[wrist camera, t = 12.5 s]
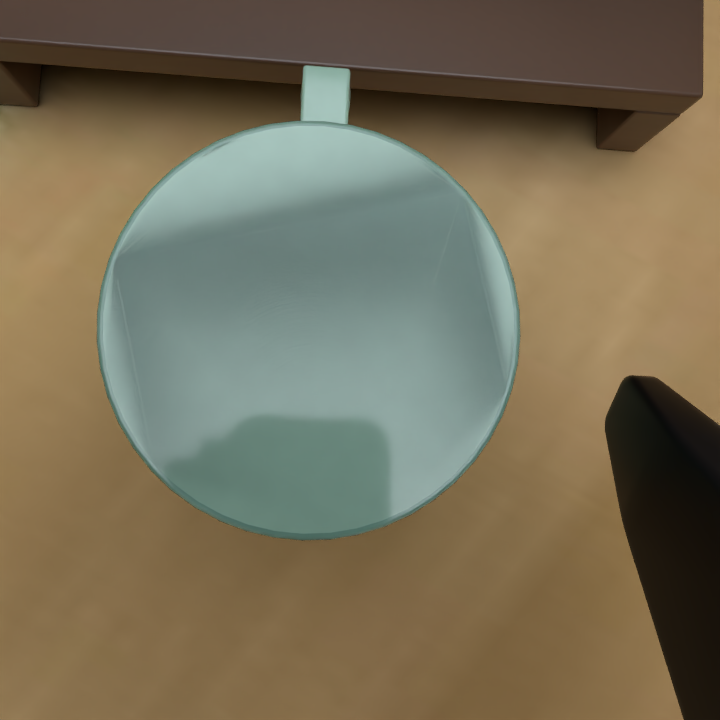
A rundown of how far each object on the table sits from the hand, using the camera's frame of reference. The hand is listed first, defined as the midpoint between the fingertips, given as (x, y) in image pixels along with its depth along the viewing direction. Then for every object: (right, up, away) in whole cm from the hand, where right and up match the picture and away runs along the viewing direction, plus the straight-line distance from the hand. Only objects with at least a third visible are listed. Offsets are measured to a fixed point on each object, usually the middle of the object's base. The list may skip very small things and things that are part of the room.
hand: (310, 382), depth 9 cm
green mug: (-1, 0, +9) cm, 9 cm away
